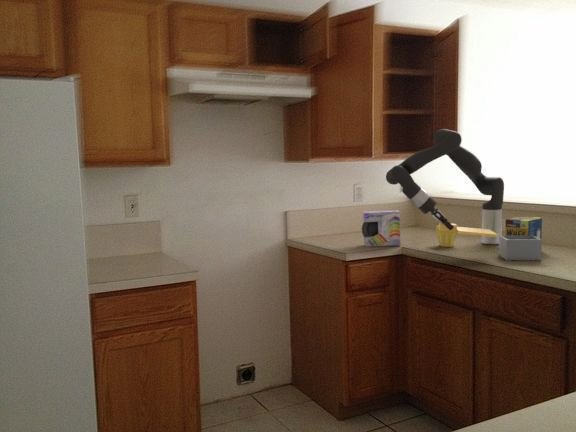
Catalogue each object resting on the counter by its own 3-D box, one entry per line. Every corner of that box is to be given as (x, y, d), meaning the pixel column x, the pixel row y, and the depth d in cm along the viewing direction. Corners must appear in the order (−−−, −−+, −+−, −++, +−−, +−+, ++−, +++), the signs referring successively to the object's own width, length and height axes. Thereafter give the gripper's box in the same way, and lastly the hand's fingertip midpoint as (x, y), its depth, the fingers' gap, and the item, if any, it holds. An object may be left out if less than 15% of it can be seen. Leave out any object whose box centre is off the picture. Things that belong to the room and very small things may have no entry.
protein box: (504, 253, 250) (505, 219, 248) (519, 248, 260) (519, 216, 259) (527, 255, 242) (528, 220, 241) (541, 250, 253) (542, 217, 251)
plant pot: (457, 244, 277) (457, 225, 276) (458, 247, 267) (458, 227, 266) (436, 243, 280) (436, 224, 279) (435, 247, 270) (435, 227, 269)
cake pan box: (362, 246, 278) (361, 211, 276) (362, 244, 283) (361, 210, 281) (400, 246, 275) (400, 211, 273) (400, 244, 280) (400, 210, 278)
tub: (498, 255, 243) (499, 235, 242) (532, 255, 242) (532, 235, 241) (506, 261, 232) (506, 239, 231) (541, 260, 230) (541, 239, 229)
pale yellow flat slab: (436, 227, 249) (437, 220, 249) (489, 232, 247) (489, 225, 246) (441, 232, 235) (442, 225, 235) (497, 237, 233) (498, 230, 233)
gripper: (431, 196, 234) (460, 224, 234) (427, 193, 248) (454, 220, 248) (418, 208, 235) (447, 236, 235) (415, 205, 250) (442, 231, 249)
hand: (451, 227), depth 242 cm, fingers open, 4 cm apart
